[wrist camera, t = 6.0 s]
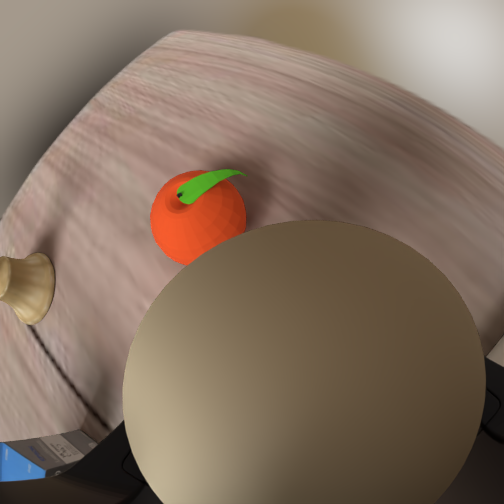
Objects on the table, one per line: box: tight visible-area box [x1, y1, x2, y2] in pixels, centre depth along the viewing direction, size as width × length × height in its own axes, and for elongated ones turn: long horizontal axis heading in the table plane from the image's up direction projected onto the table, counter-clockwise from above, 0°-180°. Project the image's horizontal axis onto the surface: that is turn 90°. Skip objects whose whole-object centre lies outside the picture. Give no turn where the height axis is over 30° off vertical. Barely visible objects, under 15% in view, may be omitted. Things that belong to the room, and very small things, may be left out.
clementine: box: [150, 169, 247, 265], centre depth 21 cm, size 8×7×7 cm
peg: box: [123, 220, 486, 504], centre depth 8 cm, size 4×4×12 cm
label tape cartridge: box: [0, 430, 98, 482], centre depth 13 cm, size 9×4×12 cm, turn 157°
